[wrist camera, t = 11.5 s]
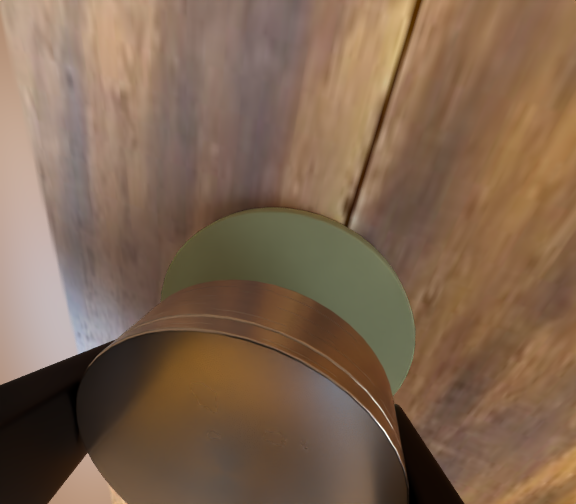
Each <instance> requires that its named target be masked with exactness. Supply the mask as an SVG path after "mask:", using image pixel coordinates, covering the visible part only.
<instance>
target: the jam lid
mask: <svg viewBox="0 0 576 504" xmlns="http://www.w3.org/2000/svg"><path fill="white" fill-rule="evenodd" d="M76 417H77V423H78V427H79V432H80V435H81V438H82V440H83V443H84V445H85V448H86V450H87V452H88V454H89V455H90V457H91V459H92V461H93V463H94V464H95V466H96V467H97V469H98V470H99V472H100V473H101V475H102V476H103V477H104V478H105V480H106V481H107V482H108V483H109V485H110V486H111V487H112V488H113V489H114V490H115V491H116V492H117V493H118V494H119V495H120V496H121V498H122V499H123V500H124V501H125V502H127V503H128V504H409V483H408V478H407V472H406V467H405V462H404V456H403V450H402V445H401V439H400V434H399V428H398V423H397V417H396V412H395V406H394V401H393V396H392V391H391V386H390V383H389V380H388V378H387V375H386V373H385V370H384V368H383V366H382V364H381V363H380V361H379V359H378V357H377V356H376V354H375V353H374V351H373V350H372V349H371V347H370V346H369V345H368V344H367V342H366V341H365V340H364V338H363V337H362V336H361V335H360V334H359V333H358V332H357V331H356V330H355V329H354V328H353V327H352V326H351V325H350V324H349V323H347V322H346V321H345V320H343V319H342V318H341V317H339V316H338V315H337V314H336V313H334V312H333V311H332V310H330V309H328V308H327V307H325V306H323V305H322V304H320V303H318V302H317V301H315V300H313V299H311V298H309V297H306V296H304V295H302V294H300V293H297V292H295V291H292V290H289V289H286V288H283V287H280V286H277V285H273V284H268V283H263V282H258V281H250V280H237V279H232V280H215V281H209V282H204V283H199V284H196V285H193V286H190V287H187V288H184V289H181V290H180V291H178V292H176V293H174V294H172V295H170V296H168V297H167V298H166V299H165V300H163V301H162V302H161V303H159V304H158V305H157V306H156V307H154V308H153V309H152V310H151V311H150V312H148V313H147V314H146V315H145V316H144V317H142V318H141V319H140V320H139V321H138V322H136V323H135V324H134V325H133V326H132V327H130V328H129V329H128V330H127V331H126V332H124V333H123V334H122V335H121V336H120V337H118V338H117V339H116V340H115V341H114V342H113V343H111V344H110V345H109V346H108V347H106V348H105V349H104V350H103V351H102V352H101V353H99V354H98V355H97V356H96V358H95V359H94V360H93V361H92V362H91V363H90V365H89V366H88V368H87V369H86V371H85V373H84V375H83V377H82V378H81V381H80V384H79V388H78V391H77V397H76Z"/></svg>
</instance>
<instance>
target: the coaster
mask: <svg viewBox="0 0 576 504" xmlns="http://www.w3.org/2000/svg"><path fill="white" fill-rule="evenodd" d="M232 279H237V280H250V281H258V282H263V283H268V284H273V285H277V286H280V287H283V288H286V289H289V290H292V291H295V292H297V293H300V294H302V295H304V296H306V297H309V298H311V299H313V300H315V301H317V302H318V303H320V304H322V305H323V306H325V307H327V308H328V309H330V310H332V311H333V312H334V313H336V314H337V315H338V316H339V317H341V318H342V319H343V320H345V321H346V322H347V323H349V324H350V325H351V326H352V327H353V328H354V329H355V330H356V331H357V332H358V333H359V334H360V335H361V336H362V337H363V338H364V340H365V341H366V342H367V344H368V345H369V346H370V347H371V349H372V350H373V351H374V353H375V354H376V356H377V357H378V359H379V361H380V363H381V364H382V366H383V368H384V370H385V373H386V375H387V378H388V380H389V383H390V386H391V391H392V396H393V395H394V394H395V393H396V392H397V390H398V389H399V388H400V387H401V385H402V383H403V381H404V380H405V378H406V376H407V374H408V371H409V368H410V366H411V363H412V360H413V355H414V349H415V324H414V318H413V313H412V310H411V307H410V303H409V300H408V297H407V295H406V292H405V290H404V288H403V286H402V284H401V282H400V280H399V278H398V276H397V274H396V273H395V271H394V270H393V269H392V267H391V266H390V264H389V263H388V262H387V260H386V259H385V258H384V257H383V256H382V255H381V254H380V253H379V252H378V251H377V250H376V249H375V248H374V246H372V245H371V244H370V243H369V242H367V241H366V240H365V239H364V238H362V237H361V236H360V235H359V234H357V233H355V232H354V231H352V230H350V229H349V228H347V227H346V226H344V225H342V224H340V223H338V222H336V221H333V220H331V219H329V218H327V217H324V216H321V215H318V214H314V213H311V212H308V211H303V210H297V209H291V208H276V207H266V208H257V209H249V210H245V211H241V212H237V213H233V214H231V215H229V216H226V217H224V218H221V219H219V220H217V221H215V222H213V223H212V224H210V225H208V226H207V227H205V228H204V229H202V230H200V231H199V232H197V233H196V234H195V235H194V236H193V237H192V238H190V239H189V240H188V241H187V242H186V243H185V244H184V245H183V247H182V248H181V249H180V250H179V251H178V252H177V254H176V256H175V257H174V259H173V261H172V262H171V264H170V266H169V268H168V271H167V273H166V276H165V278H164V283H163V287H162V292H161V302H162V301H163V300H165V299H166V298H167V297H168V296H170V295H172V294H174V293H176V292H178V291H180V290H181V289H184V288H187V287H190V286H193V285H196V284H199V283H204V282H209V281H215V280H232Z"/></svg>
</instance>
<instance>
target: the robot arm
mask: <svg viewBox="0 0 576 504" xmlns="http://www.w3.org/2000/svg"><path fill="white" fill-rule="evenodd" d="M114 341H115V340H113V341H111V342H108V343H106V344H103V345H101V346H98V347H96V348H93V349H91V350H88V351H86V352H83V353H80V354H78V355H75V356H73V357H70V358H68V359H66V360H63V361H60V362H58V363H55V364H53V365H50V366H48V367H45V368H43V369H40V370H37V371H35V372H32V373H30V374H27V375H25V376H22V377H20V378H17V379H15V380H12V381H10V382H7V383H5V384H2V385H0V504H48V503H49V501H50V500H51V499H52V497H53V496H54V495H55V494H56V492H57V491H58V490H59V488H60V487H61V486H62V485H63V483H64V482H65V481H66V480H67V478H68V477H69V476H70V475H71V473H72V472H73V471H74V469H75V468H76V467H77V466H78V464H79V463H80V462H81V461H82V459H83V458H84V456H85V455H86V454H87V453H88V452H87V450H86V448H85V445H84V443H83V440H82V438H81V435H80V432H79V427H78V423H77V417H76V397H77V391H78V388H79V384H80V381H81V378H82V377H83V375H84V373H85V371H86V369H87V368H88V366H89V365H90V363H91V362H92V361H93V360H94V359H95V358H96V356H97V355H98V354H99V353H101V352H102V351H103V350H104V349H105V348H106V347H108V346H109V345H110V344H111V343H113V342H114ZM394 406H395V412H396V417H397V423H398V428H399V434H400V439H401V445H402V450H403V456H404V462H405V467H406V472H407V478H408V483H409V504H464V502H463V501H462V499H461V498H460V496H459V495H458V493H457V492H456V490H455V489H454V487H453V486H452V484H451V483H450V481H449V480H448V478H447V477H446V475H445V473H444V472H443V470H442V469H441V467H440V466H439V464H438V463H437V461H436V460H435V458H434V457H433V455H432V454H431V452H430V451H429V449H428V448H427V446H426V445H425V443H424V441H423V440H422V438H421V437H420V435H419V434H418V432H417V431H416V429H415V428H414V426H413V425H412V423H411V422H410V420H409V419H408V417H407V416H406V414H405V413H404V411H403V410H402V408H401V407H400V406H399V405H397V404H394Z"/></svg>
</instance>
